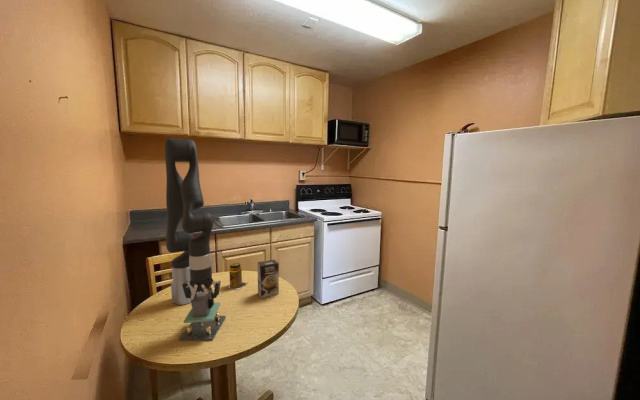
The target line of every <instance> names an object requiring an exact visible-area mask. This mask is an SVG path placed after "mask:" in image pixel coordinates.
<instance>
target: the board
mask: <svg viewBox="0 0 640 400" xmlns="http://www.w3.org/2000/svg"><path fill="white" fill-rule="evenodd" d="M208 300H209V298H208V296H207V295H206V294H205V292H198V293H197V295H196V297H195V298H194V300H193V301H192V304H191V308H190V310H189V312H188V314H186V316H185V318H184V320H183V324H191V323H193V322H206V321H213V319H214V317H215V315H216V313H218V310H219V309H220V306H221V302H214V305H213V307H212V308H211V309H209V303H208Z"/></svg>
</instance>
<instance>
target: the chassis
mask: <svg viewBox="0 0 640 400" xmlns="http://www.w3.org/2000/svg"><path fill="white" fill-rule="evenodd" d="M226 318H227V316H226V315H220V312H217V313H216V315H215V317H214V319H213V321H206V322H193V323H189V325H188V326H187V327H186V329H185V330H184V331H183V333H182V334H181V335H180V337H179V341H214V339H215V338H216V335H217V334H218V332H219V330H220V329H221V327H222V325H223V324H224V322H225V320H226Z"/></svg>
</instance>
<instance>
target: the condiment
mask: <svg viewBox="0 0 640 400" xmlns="http://www.w3.org/2000/svg"><path fill="white" fill-rule="evenodd" d="M228 271H229V272H228V273H229V285H228V286H227V287H226V289H227V288H228V289H230V290H235V291H237V290H240V289H242V288H243V287H244V286H246V285H247V284H248V282H244V281H243V276H242V274H243V273H242V272H243V271H242V267H241V263H239V262H233V263H231V264H230V265H229V270H228Z"/></svg>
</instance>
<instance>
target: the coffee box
mask: <svg viewBox="0 0 640 400" xmlns="http://www.w3.org/2000/svg"><path fill="white" fill-rule="evenodd" d="M279 269H280V268H279V262H278V261H277V260H276V259H268V260H264V261H257V294H258V295H259V298H261V299H264V298H269V297H273V296H277V295H279V294H280V287H279V286H280V282H279V281H280V279H279V275H280V273H279V272H280V271H279Z"/></svg>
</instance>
